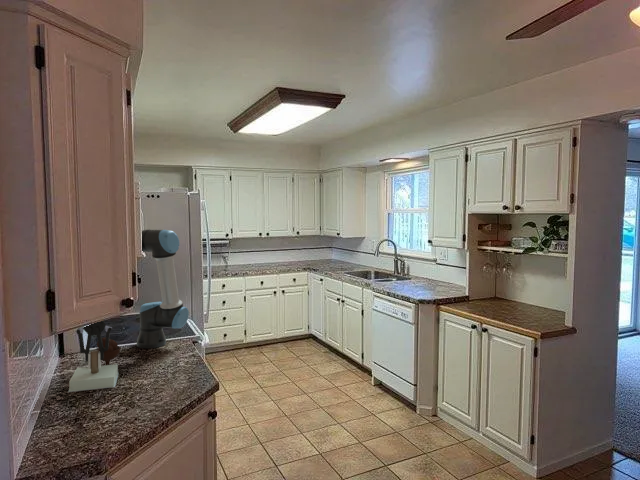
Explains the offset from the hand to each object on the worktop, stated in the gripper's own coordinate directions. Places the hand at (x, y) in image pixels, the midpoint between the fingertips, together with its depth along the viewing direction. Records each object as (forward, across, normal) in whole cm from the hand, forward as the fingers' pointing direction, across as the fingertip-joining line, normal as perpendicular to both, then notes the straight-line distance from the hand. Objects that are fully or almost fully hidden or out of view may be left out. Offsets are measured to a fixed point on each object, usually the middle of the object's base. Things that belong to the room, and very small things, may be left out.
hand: (94, 367), depth 179 cm
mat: (+7, 0, 0) cm, 7 cm away
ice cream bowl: (+7, +3, +16) cm, 18 cm away
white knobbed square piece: (+6, 0, 0) cm, 6 cm away
